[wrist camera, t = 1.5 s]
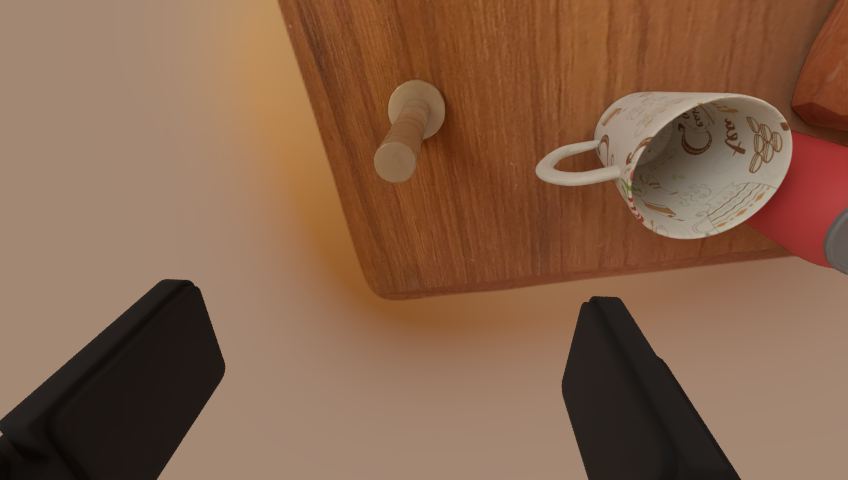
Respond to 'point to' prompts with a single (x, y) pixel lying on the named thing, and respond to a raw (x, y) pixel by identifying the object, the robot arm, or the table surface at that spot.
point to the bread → (826, 75)
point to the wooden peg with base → (409, 128)
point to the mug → (685, 159)
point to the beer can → (810, 204)
